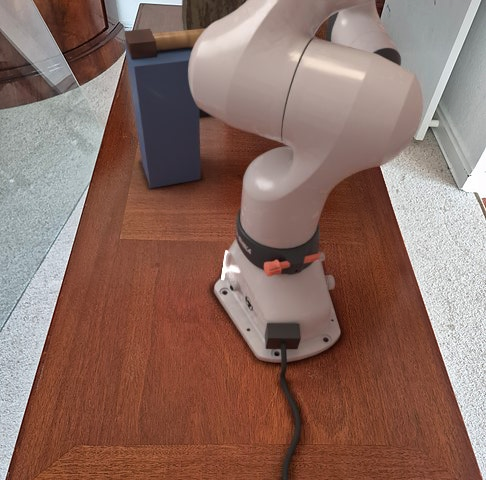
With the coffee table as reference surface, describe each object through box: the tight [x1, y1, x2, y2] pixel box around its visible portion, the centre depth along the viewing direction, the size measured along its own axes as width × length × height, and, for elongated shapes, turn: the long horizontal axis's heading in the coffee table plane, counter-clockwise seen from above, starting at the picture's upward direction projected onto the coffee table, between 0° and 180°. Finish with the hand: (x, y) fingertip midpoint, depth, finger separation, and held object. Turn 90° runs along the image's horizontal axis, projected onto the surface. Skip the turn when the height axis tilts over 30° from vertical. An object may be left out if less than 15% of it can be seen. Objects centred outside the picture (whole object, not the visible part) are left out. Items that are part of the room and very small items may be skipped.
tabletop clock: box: [181, 0, 243, 48], centre depth 109 cm, size 14×9×25 cm, turn 92°
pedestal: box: [123, 40, 202, 189], centre depth 82 cm, size 8×10×24 cm
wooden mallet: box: [123, 28, 205, 59], centre depth 72 cm, size 18×4×2 cm, turn 109°
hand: (249, 50), depth 77 cm, fingers open, 8 cm apart
